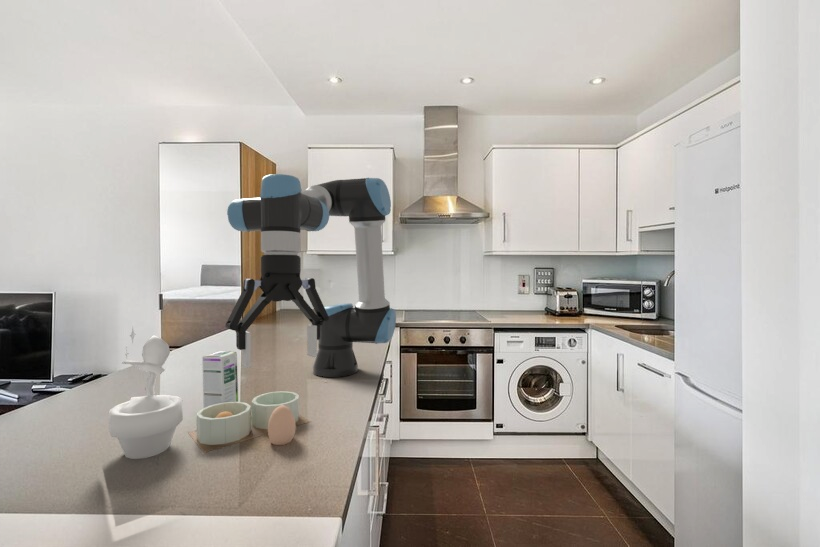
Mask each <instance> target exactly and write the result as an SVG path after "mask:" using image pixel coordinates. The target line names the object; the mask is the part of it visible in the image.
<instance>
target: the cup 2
mask: <svg viewBox="0 0 820 547" xmlns="http://www.w3.org/2000/svg"><path fill="white" fill-rule="evenodd" d="M281 405H284V406H287V407H288V408H289V409H290V410H291V412H292V413H293V416H294V418H295V422H297V421H298V419H299V415H300V395H299V394H298V393H296V392H294V391H285V390H283V391H280V390H279V391H271V392H266V393H263V394H262V393H261V394H259V395H257V396H254V397H253V399H252V400H251V416H252V425H253V426H255V427H256V428H260V429H268V423H269V419H270V417H271V415H272V413H273V411H274V410H275V409H276V408H277V407H279V406H281Z"/></svg>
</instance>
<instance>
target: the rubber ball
mask: <svg viewBox="0 0 820 547" xmlns="http://www.w3.org/2000/svg"><path fill="white" fill-rule="evenodd" d="M232 415H233V414H232V413H231V412H228V411H224V412H221V413H219V414H218V415H217V416H216V418H222V417H228V416H232Z"/></svg>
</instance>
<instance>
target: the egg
mask: <svg viewBox="0 0 820 547" xmlns="http://www.w3.org/2000/svg"><path fill="white" fill-rule="evenodd" d="M296 427H297V426H296V425H295V418H294V416H293V413H292V412H291V410H290V409H289V408H288V407H287V406H284V405H281V406H279V407H277V408H276V409H275V410H274V411H273V413H272V415H271V417H270V419H269V423H268V434H267V435H268V439H269V440H270V443H272V444H273V445H276V446H284V445H286V444H289V443H291V441H292V440H293V439H294V437H295V434H296Z"/></svg>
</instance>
